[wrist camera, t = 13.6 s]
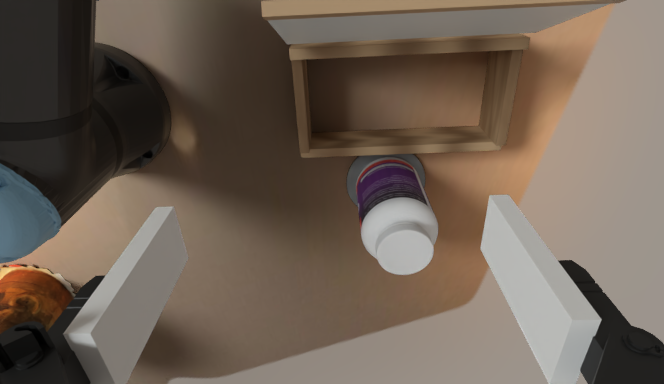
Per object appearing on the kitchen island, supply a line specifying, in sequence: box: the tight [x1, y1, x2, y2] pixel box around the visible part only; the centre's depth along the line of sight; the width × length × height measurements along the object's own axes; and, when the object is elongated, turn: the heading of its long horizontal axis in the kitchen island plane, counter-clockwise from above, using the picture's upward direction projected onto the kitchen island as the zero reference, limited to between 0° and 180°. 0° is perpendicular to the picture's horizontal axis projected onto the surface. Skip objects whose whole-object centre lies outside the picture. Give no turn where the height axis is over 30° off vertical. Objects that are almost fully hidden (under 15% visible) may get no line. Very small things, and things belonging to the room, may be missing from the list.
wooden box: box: [289, 33, 530, 158], centre depth 43 cm, size 22×12×7 cm, turn 93°
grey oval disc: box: [347, 154, 425, 207], centre depth 52 cm, size 10×10×1 cm
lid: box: [261, 0, 625, 44], centre depth 30 cm, size 22×12×1 cm
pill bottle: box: [356, 157, 438, 275], centre depth 45 cm, size 8×8×14 cm
